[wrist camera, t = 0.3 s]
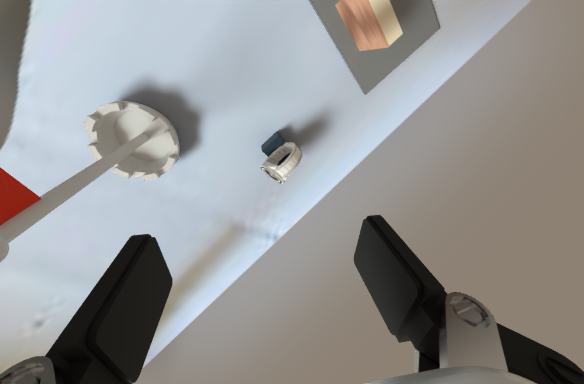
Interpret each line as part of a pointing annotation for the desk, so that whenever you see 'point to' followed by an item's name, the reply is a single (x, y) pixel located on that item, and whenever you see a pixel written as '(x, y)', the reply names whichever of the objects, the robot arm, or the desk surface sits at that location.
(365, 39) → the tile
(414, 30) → the mat
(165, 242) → the desk surface
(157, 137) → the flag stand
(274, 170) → the watch
